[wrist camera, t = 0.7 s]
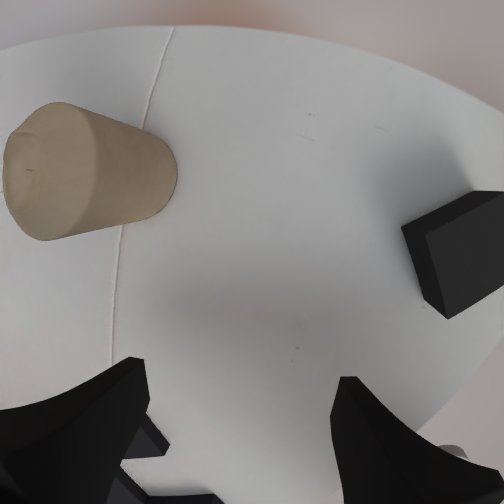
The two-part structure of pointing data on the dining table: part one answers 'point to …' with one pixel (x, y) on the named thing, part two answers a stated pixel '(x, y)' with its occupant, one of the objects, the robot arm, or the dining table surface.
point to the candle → (83, 173)
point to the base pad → (146, 445)
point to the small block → (459, 251)
